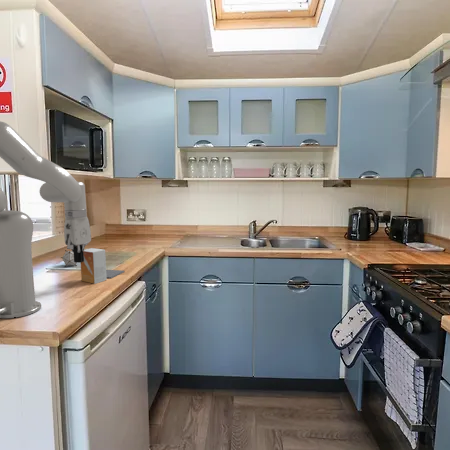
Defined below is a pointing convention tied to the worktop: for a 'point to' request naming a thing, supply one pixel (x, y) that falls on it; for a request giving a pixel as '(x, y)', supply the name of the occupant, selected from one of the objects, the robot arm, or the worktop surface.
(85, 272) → the small box
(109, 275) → the rubber mat
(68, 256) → the game die
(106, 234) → the worktop surface
